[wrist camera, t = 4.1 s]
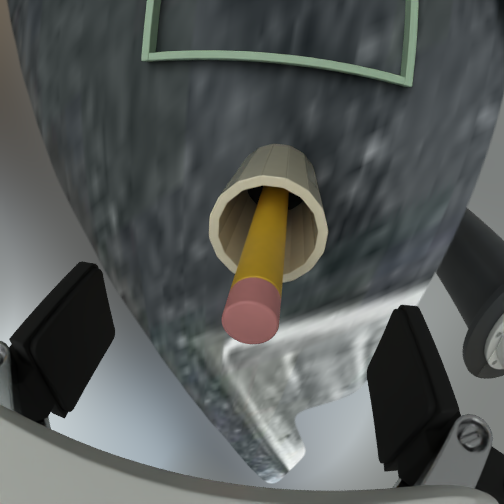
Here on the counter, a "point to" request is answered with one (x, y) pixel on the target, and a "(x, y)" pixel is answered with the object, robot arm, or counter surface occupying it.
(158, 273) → the counter surface
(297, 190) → the pen cup
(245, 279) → the pencil
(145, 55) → the tray
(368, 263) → the counter surface
